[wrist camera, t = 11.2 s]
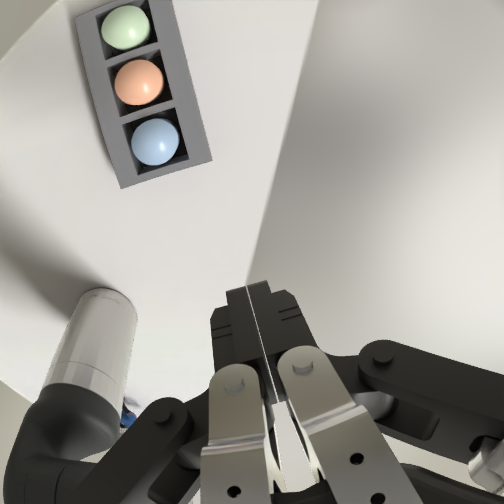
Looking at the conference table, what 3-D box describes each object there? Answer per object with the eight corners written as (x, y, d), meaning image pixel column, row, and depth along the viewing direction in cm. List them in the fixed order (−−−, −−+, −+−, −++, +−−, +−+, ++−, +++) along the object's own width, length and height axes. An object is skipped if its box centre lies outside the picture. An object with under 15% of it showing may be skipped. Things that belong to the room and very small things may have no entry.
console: (211, 154, 35) (212, 160, 31) (128, 180, 35) (120, 189, 31) (170, -5, 26) (167, -16, 22) (86, 25, 25) (74, 17, 22)
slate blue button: (184, 152, 33) (182, 157, 30) (144, 164, 33) (139, 171, 30) (173, 112, 31) (170, 113, 28) (133, 125, 31) (126, 128, 28)
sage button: (155, 43, 27) (151, 37, 24) (115, 57, 27) (106, 53, 24) (147, 8, 25) (142, -1, 22) (107, 22, 25) (97, 15, 22)
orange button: (169, 96, 30) (166, 96, 27) (128, 110, 30) (121, 111, 27) (159, 58, 28) (155, 53, 25) (118, 72, 28) (110, 69, 25)
